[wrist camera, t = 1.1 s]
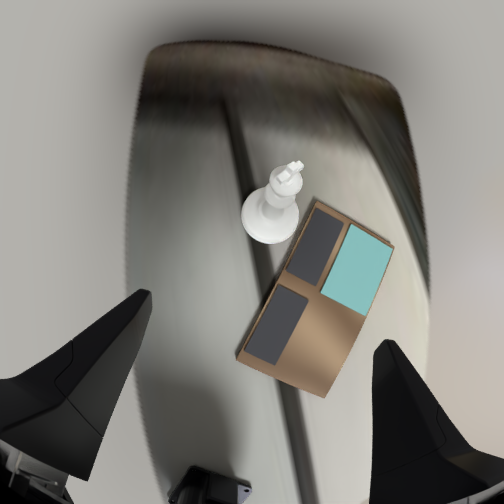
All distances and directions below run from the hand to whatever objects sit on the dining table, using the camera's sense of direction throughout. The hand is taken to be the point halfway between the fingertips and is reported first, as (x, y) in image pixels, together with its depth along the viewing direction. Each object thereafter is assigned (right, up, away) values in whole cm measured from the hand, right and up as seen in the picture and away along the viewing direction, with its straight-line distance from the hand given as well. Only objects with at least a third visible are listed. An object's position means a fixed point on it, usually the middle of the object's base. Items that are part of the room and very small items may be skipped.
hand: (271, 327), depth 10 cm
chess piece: (+1, +6, +15) cm, 16 cm away
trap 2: (+1, -3, +13) cm, 13 cm away
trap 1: (+5, +3, +14) cm, 15 cm away
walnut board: (+5, -1, +14) cm, 15 cm away
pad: (+8, +1, +14) cm, 16 cm away
